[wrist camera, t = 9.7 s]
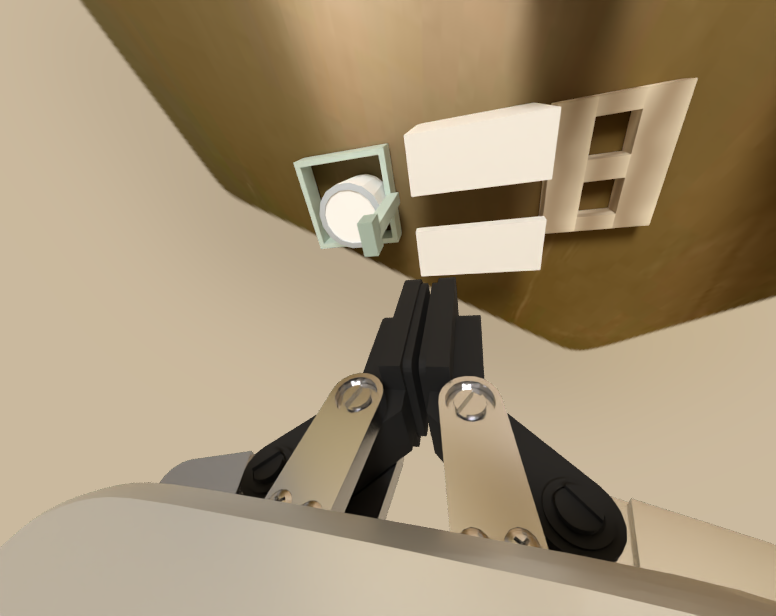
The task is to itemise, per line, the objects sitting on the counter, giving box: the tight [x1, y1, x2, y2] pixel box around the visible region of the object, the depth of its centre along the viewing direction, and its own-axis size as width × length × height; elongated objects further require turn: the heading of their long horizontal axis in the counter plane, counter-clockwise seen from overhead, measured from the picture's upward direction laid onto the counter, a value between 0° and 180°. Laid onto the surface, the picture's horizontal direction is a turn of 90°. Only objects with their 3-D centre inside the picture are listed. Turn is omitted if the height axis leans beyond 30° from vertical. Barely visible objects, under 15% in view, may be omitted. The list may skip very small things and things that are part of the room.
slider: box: [294, 143, 402, 257], centre depth 30 cm, size 11×10×14 cm
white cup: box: [319, 174, 386, 248], centre depth 33 cm, size 7×7×7 cm
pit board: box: [539, 78, 698, 234], centre depth 29 cm, size 10×12×2 cm
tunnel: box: [404, 102, 561, 276], centre depth 29 cm, size 11×13×10 cm
